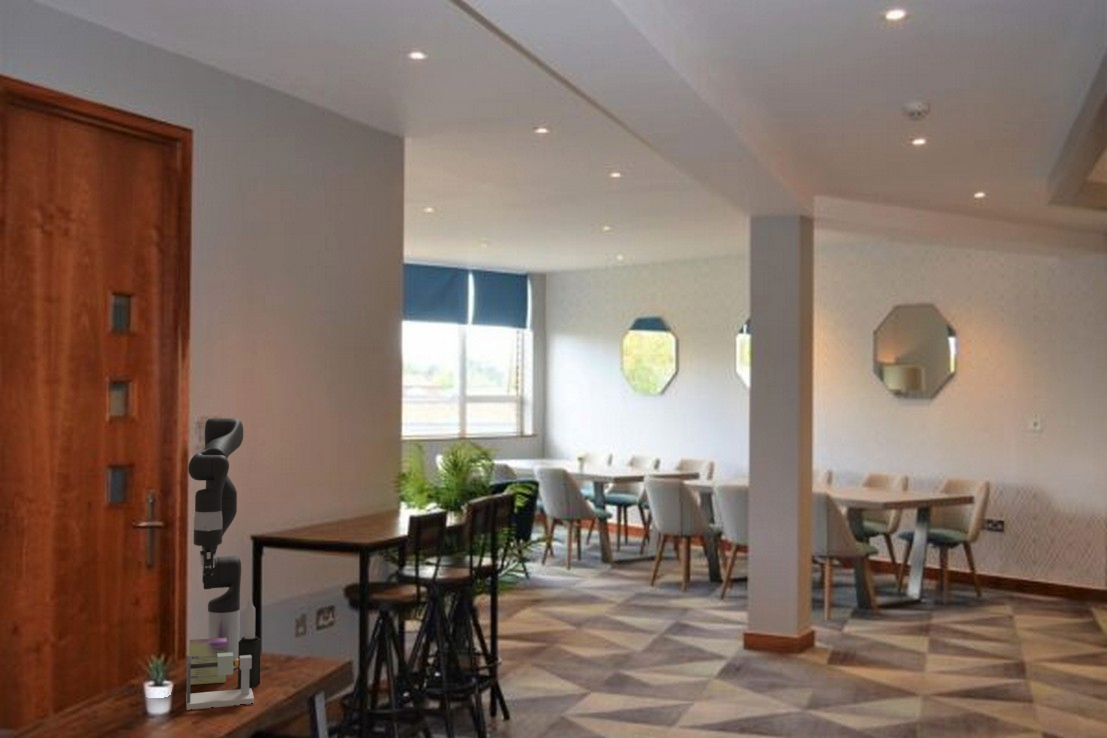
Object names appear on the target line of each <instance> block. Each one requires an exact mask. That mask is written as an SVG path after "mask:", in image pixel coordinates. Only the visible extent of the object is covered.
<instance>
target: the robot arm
mask: <svg viewBox="0 0 1107 738" xmlns="http://www.w3.org/2000/svg"><path fill="white" fill-rule="evenodd" d="M243 439H244V425H243V422H242V420H240V419H238V418H233V417H227V418H226V417H224V418H223V417H221V418H218V417H216V418H214V417H213V418H208V419H207V420H206V422H205V425H204V448H203V450H201V451H199V452H197V453H195V454H194V455H193V457H191V459H190V461H189V463H188V467H187V468H188V469H187V470H188V475H189V476H190V478H192V479H193V480H195V481H199V482H200V481H203V482H205V488H203V489H199V490H197V491H196V492H195V498H194V502H195V503H194V504H195V505H194V518H193V544H194V546H198V547H201V550H200V551H199V557H200V559H199V560H200V566H201V567H200V568H201V569H202V580H201V581H202V584H203V589H204V590H211V589H223V588H228V589H227V591H226V592H224V593H222V594H221V595H220V596H217V597H214V598H212V599H210V600H209V602H208V603H207V639H214V638H227V653H229V652H233V661H235V659H238V642H239V641H240V631H241V630H240V626H241V625H240V624H241V622H240V621H241V619H240V618H241V617H240V613H241V612H240V611H241V609H240V607H241V606H240V605H241V602H240V601H241V599H240V598H241V581H242V561H241V559H240V557H239V556H234V555H233V556H216V554H217V550H218V546H219V545H221V544H222V543H223V536H224V534H225V533H226V531H227V530H228V529H229V527H230V526H231V525H232V523H233V521H234V519H235V517H236V514H237V512H238V511H237V510H238V506H237V505H238V492H237V489H236V486H235V485H234V483H233V481H232V480H231V479H230V476H228V474H229V469H230V462H229V460H228V459H229V456H230V455H231V454H233V453H234V452H235V451H236V450H238V449H239V448H240V447H241V446H242V444H243ZM236 668H237V669H238V667H235V665H233V670H234V669H236Z"/></svg>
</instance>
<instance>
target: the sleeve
mask: <svg viewBox="0 0 1107 738" xmlns="http://www.w3.org/2000/svg"><path fill="white" fill-rule="evenodd" d="M217 662H218V667H217V675H218V676H220V675H226V676H231V675H234V669H233V652H229V653H217Z"/></svg>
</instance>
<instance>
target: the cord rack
mask: <svg viewBox="0 0 1107 738" xmlns="http://www.w3.org/2000/svg"><path fill="white" fill-rule="evenodd" d="M233 665H235V667H237V668H238V667H239V668H240V670H241V687H240V689H239V688H238V689H228V690H218V691H217V690H216V691H205V692H195V693H193V692H192V693H191V687H192V686H191V669H196V668H208V667H218V662H213V663H200V664H191V658H190V656H189V655H187V656H186V694H185V702H186V703H185V704H186V711H188V710H190V711H191V709H192V710H202V709H212V708H211V707H214V708H222V707H223V708H224V707H233V706H234V705H236V706H241V705H240V704H246V705H254V704H255V697H254V693H253V690H252V689H253V688H249V669H252V657H251V655H244V656H239V659H235V661H233ZM251 703H253V704H251ZM234 707H235V706H234Z"/></svg>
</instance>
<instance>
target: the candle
mask: <svg viewBox="0 0 1107 738" xmlns="http://www.w3.org/2000/svg"><path fill="white" fill-rule="evenodd" d="M253 604H254V603H253V600H252V597H251V596H250V597H248V602H247V604H246V607H245V608H244V626H243V627H244V629H243V632H244V635H243V637H240V639H239V642H238V659H239V656H244V655H251V657H252V669H249V688H251V689H253V688H252V687H254V688H256V687H257V686H259V685H258V684H260V685H261V647H262V646H261V638H259V637H258V636H256V607H255V606H254V605H253ZM237 687H238V688H241V670H240V668H239V667H237Z"/></svg>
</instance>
